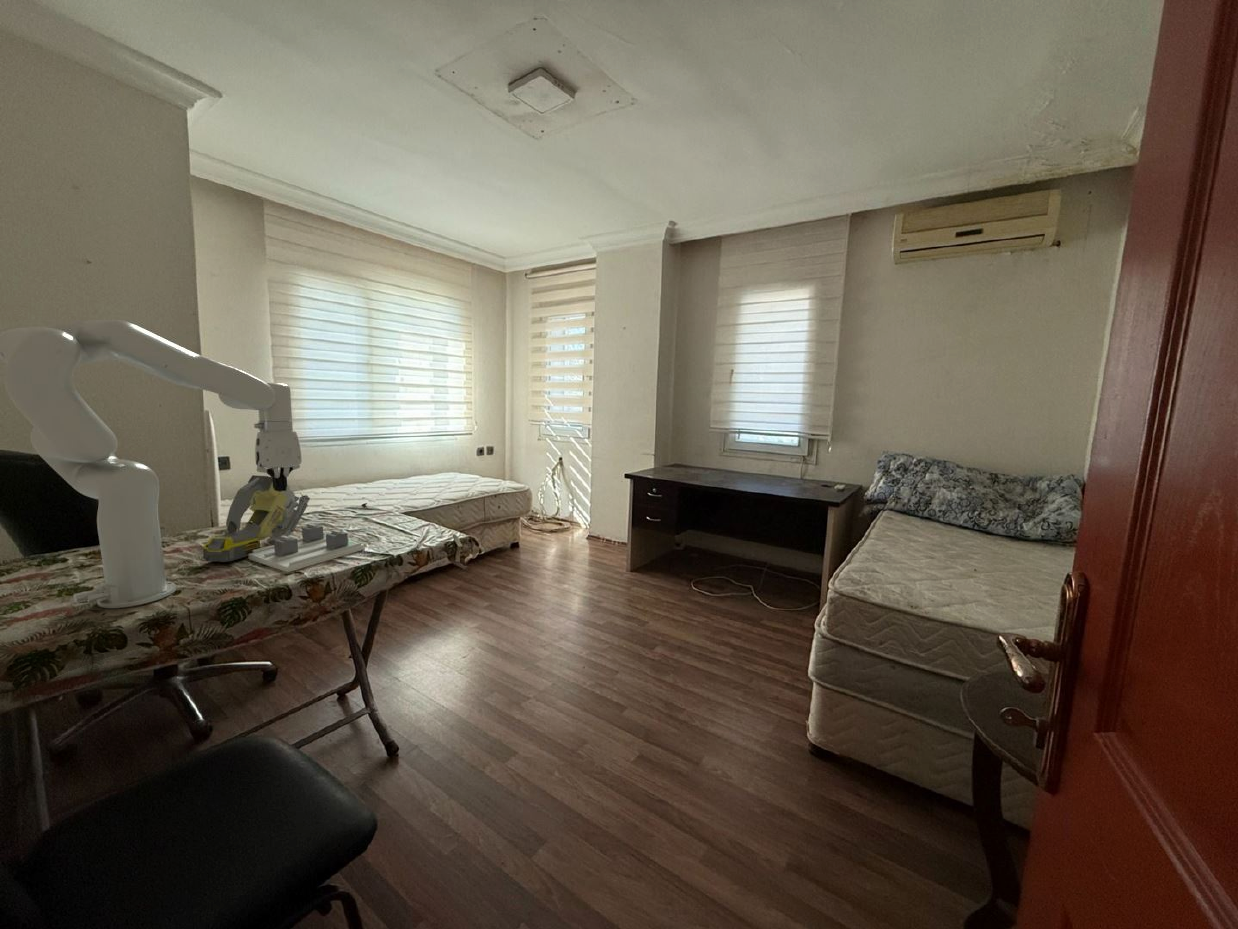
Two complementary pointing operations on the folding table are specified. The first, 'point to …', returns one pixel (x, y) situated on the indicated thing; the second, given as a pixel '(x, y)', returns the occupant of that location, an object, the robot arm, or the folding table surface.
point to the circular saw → (256, 519)
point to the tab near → (336, 539)
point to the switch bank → (303, 554)
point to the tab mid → (285, 546)
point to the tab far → (312, 533)
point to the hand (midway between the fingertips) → (280, 490)
